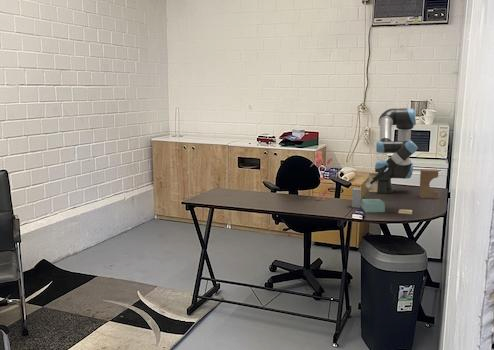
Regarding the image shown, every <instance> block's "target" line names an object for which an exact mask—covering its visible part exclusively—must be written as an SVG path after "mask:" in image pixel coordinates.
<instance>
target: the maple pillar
mask: <svg viewBox="0 0 494 350" xmlns="http://www.w3.org/2000/svg"><path fill="white" fill-rule="evenodd" d="M368 174H369V175H368V181H370V180H372V179H373V178H374V177H375V176H376V175H378V172H375V171H369V173H368ZM377 191H378V180H377V181H376V182H375V183H374V184H373V185H372V186H370V187H369V188H368V192H369V193H370V192H371V193H375V192H377Z"/></svg>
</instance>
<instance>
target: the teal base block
mask: <svg viewBox="0 0 494 350" xmlns="http://www.w3.org/2000/svg"><path fill="white" fill-rule="evenodd" d="M385 205H386V204H385V202H384V201H383V200H381V199H380V198H364V199H363V198H361V206H360V208H361V209H362V210H363V212H365V213H386V209H385V208H386V206H385Z"/></svg>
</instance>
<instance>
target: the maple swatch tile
mask: <svg viewBox="0 0 494 350" xmlns="http://www.w3.org/2000/svg"><path fill="white" fill-rule="evenodd" d="M397 213H398V214H399V215H400V214H401V215H402V214H403V215H413V210H412V209H399V208H398V212H397Z"/></svg>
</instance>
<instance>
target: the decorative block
mask: <svg viewBox="0 0 494 350" xmlns="http://www.w3.org/2000/svg"><path fill="white" fill-rule="evenodd" d="M439 173H440V172H439V170H438V169H436V168H435V169H433V168H431V169H429V168H424V169H423V168H422V169H421V168H420V175H419V195H418V196H419V198H420V199H426V198H428V199H434V200H435V199H438V191H437V190H435V189H432V188H431V187H430V184H431V183H430V182H431V181H432V180H434V179H437V178H439Z"/></svg>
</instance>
